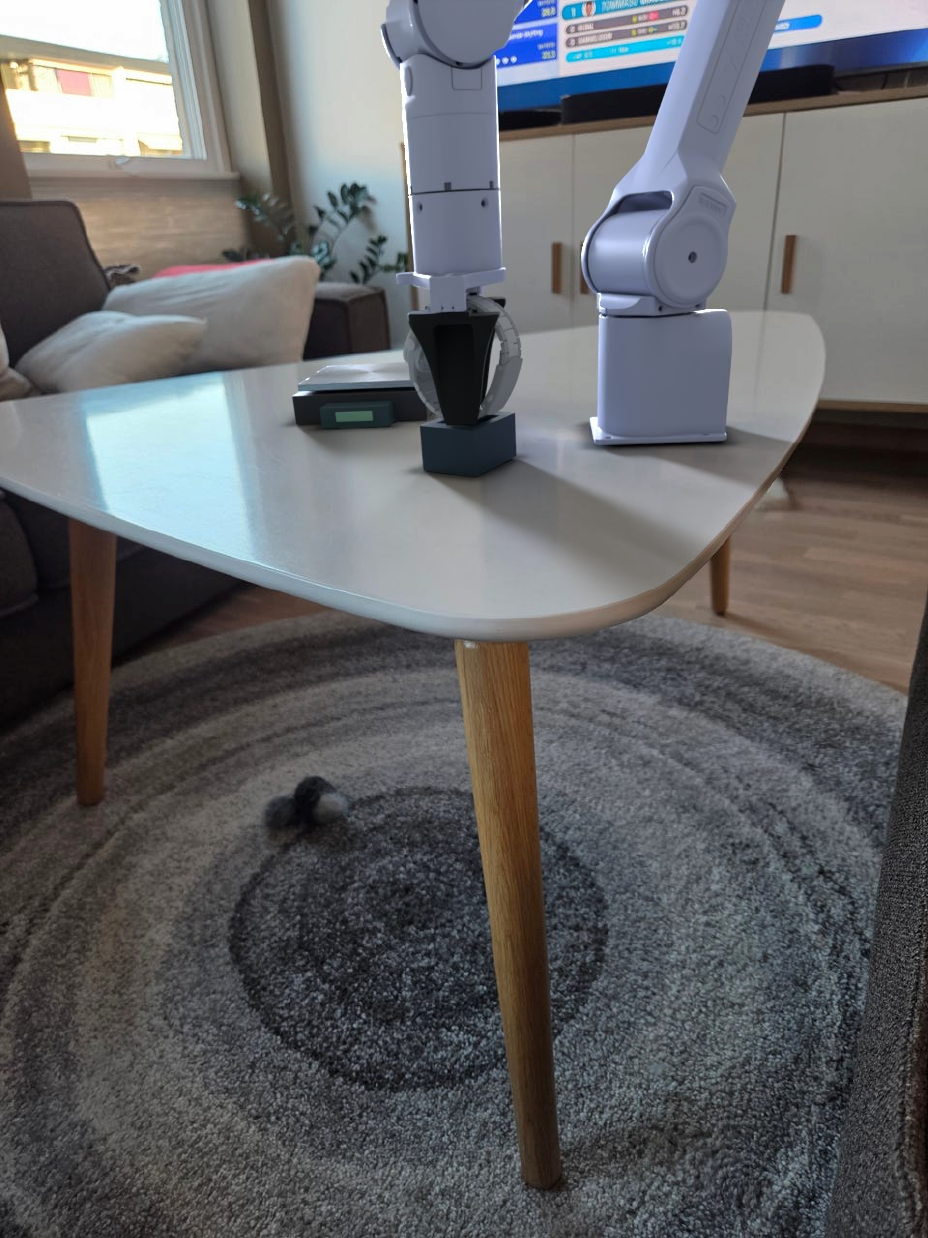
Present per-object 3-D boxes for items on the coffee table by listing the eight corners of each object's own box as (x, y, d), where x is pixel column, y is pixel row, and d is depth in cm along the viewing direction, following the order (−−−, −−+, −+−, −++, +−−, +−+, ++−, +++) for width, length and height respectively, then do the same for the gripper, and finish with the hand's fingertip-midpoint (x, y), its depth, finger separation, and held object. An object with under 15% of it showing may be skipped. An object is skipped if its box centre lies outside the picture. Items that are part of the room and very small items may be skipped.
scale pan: (435, 366, 81) (435, 360, 81) (420, 386, 72) (419, 379, 71) (328, 371, 83) (327, 365, 82) (298, 391, 73) (297, 384, 72)
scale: (443, 394, 83) (441, 368, 82) (423, 425, 70) (421, 396, 69) (328, 398, 84) (324, 373, 83) (287, 430, 71) (283, 401, 70)
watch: (444, 448, 62) (433, 292, 57) (538, 458, 58) (535, 291, 53) (400, 467, 58) (384, 302, 53) (497, 480, 54) (490, 302, 49)
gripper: (409, 200, 58) (423, 395, 64) (368, 193, 45) (391, 439, 51) (508, 194, 57) (513, 392, 63) (496, 185, 44) (504, 436, 50)
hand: (465, 413), depth 57 cm, fingers closed on watch, 6 cm apart
